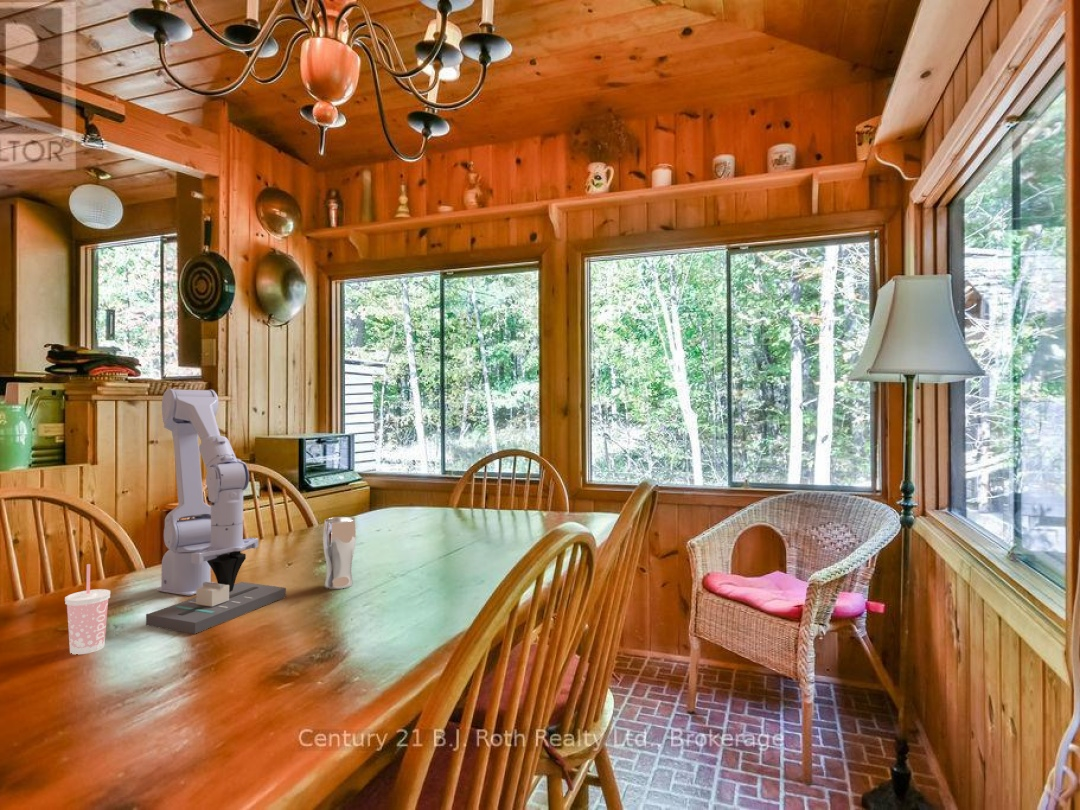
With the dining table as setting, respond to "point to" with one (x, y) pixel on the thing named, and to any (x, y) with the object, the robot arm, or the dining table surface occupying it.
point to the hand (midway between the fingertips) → (226, 591)
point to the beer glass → (339, 551)
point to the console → (215, 608)
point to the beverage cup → (87, 618)
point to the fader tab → (212, 594)
